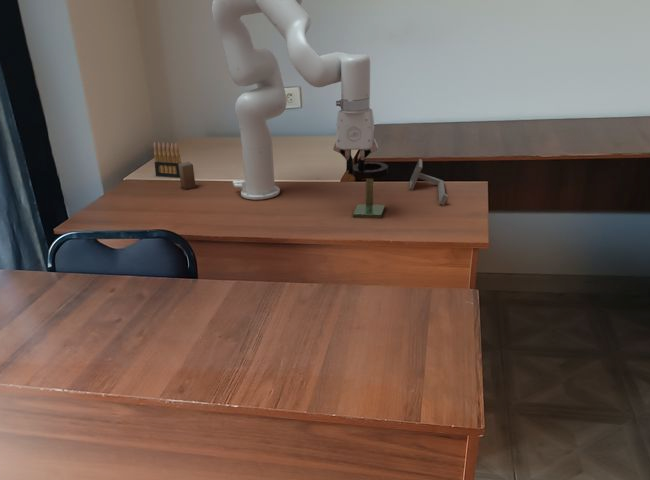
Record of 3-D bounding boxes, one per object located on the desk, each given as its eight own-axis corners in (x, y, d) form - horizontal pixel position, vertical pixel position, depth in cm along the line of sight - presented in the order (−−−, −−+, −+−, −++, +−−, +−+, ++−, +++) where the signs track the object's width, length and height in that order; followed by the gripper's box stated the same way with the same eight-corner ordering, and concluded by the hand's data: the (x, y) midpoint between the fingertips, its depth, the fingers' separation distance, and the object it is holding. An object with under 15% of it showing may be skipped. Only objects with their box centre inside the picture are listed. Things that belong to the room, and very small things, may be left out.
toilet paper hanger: (439, 214, 195) (450, 191, 191) (409, 204, 195) (419, 180, 191) (437, 190, 214) (447, 168, 210) (409, 180, 214) (419, 158, 210)
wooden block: (196, 187, 225) (193, 163, 221) (185, 189, 224) (181, 166, 220) (191, 184, 228) (188, 161, 224) (180, 186, 227) (177, 163, 223)
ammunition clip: (184, 176, 238) (179, 141, 231) (181, 177, 236) (176, 143, 230) (158, 174, 242) (153, 140, 236) (155, 175, 240) (150, 142, 234)
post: (353, 217, 191) (353, 179, 185) (357, 207, 197) (357, 170, 191) (381, 218, 188) (382, 179, 183) (384, 208, 195) (385, 171, 189)
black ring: (348, 178, 184) (348, 171, 183) (354, 167, 192) (354, 161, 191) (385, 178, 181) (385, 172, 180) (389, 168, 189) (389, 161, 188)
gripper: (323, 108, 178) (324, 176, 187) (383, 107, 173) (382, 177, 183) (329, 102, 184) (330, 168, 193) (387, 101, 179) (385, 169, 189)
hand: (355, 172), depth 188 cm, fingers closed on black ring, 2 cm apart
